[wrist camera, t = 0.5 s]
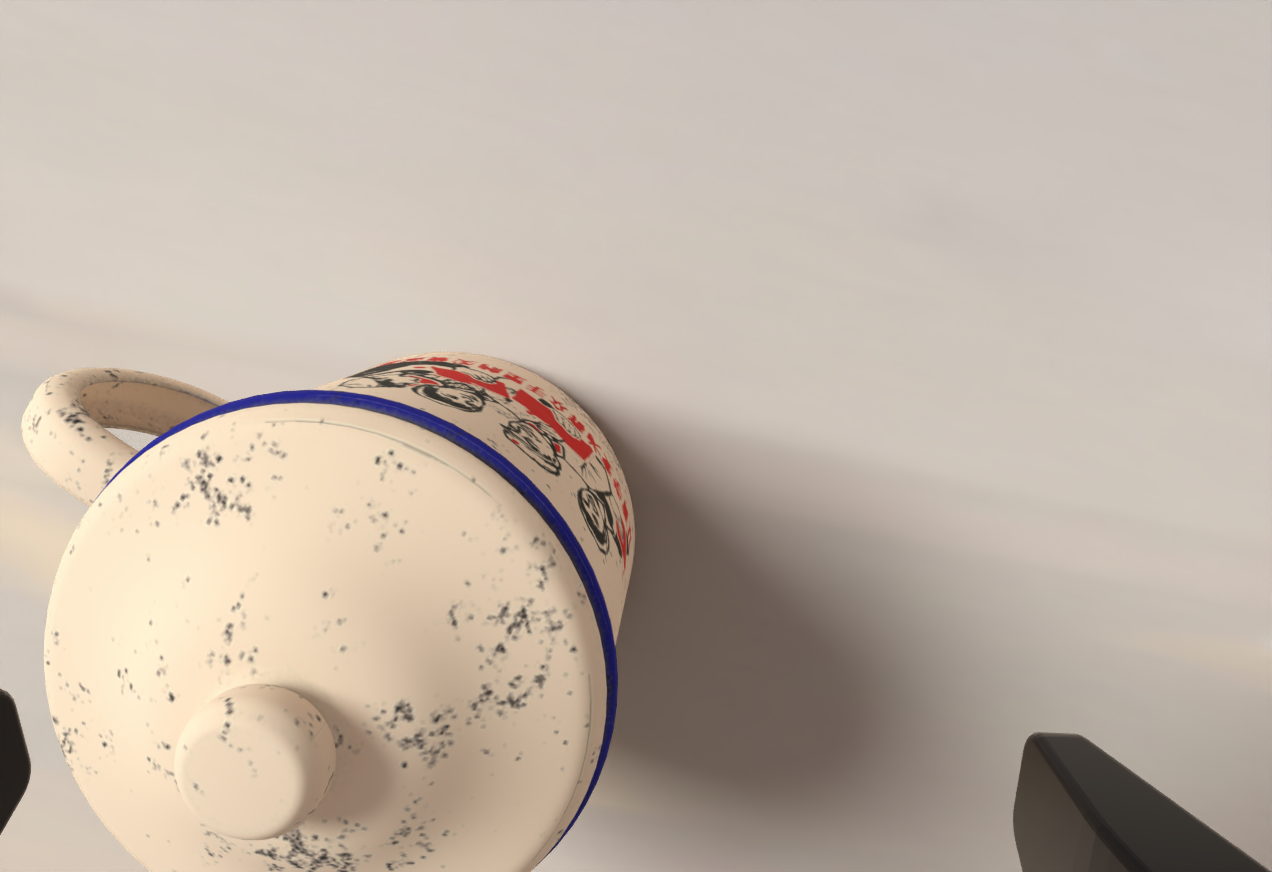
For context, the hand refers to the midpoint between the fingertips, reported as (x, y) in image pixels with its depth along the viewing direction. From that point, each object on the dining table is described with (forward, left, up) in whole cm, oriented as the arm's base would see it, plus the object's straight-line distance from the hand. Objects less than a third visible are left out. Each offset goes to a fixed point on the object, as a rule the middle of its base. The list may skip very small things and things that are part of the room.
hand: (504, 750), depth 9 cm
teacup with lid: (-4, +4, -15) cm, 16 cm away
